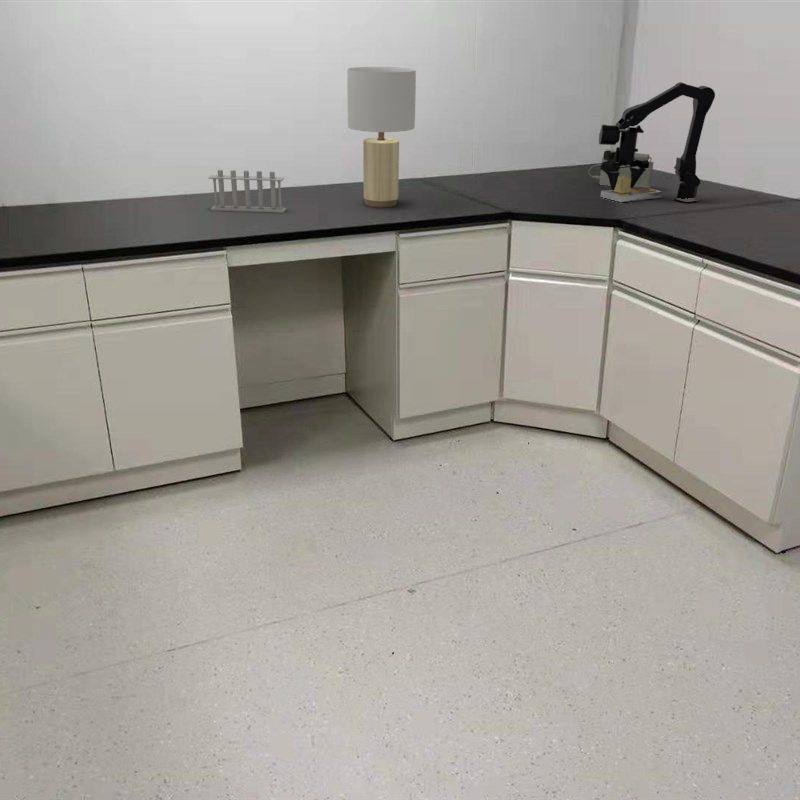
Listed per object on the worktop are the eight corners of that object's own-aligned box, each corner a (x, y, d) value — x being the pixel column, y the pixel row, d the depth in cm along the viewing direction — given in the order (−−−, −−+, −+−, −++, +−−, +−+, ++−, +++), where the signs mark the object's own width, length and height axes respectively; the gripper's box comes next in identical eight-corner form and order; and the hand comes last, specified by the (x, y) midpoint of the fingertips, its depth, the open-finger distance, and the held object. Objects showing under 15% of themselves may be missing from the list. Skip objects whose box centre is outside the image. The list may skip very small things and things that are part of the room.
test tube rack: (210, 210, 282) (207, 170, 276) (214, 207, 286) (211, 168, 280) (283, 213, 280) (281, 173, 275) (286, 210, 284) (284, 170, 279)
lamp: (420, 200, 301) (424, 68, 281) (401, 214, 281) (404, 73, 262) (361, 195, 307) (361, 65, 287) (339, 208, 287) (336, 70, 268)
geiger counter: (656, 153, 317) (594, 146, 329) (651, 155, 312) (588, 148, 324) (651, 190, 323) (589, 182, 335) (646, 192, 318) (584, 184, 330)
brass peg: (620, 197, 310) (623, 175, 306) (628, 199, 306) (631, 177, 303) (612, 198, 308) (615, 176, 304) (620, 200, 305) (623, 178, 301)
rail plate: (640, 192, 318) (641, 185, 317) (661, 198, 309) (662, 190, 308) (600, 197, 309) (601, 189, 308) (620, 203, 301) (621, 195, 299)
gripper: (631, 140, 309) (625, 182, 316) (592, 143, 301) (587, 187, 308) (653, 144, 300) (646, 188, 307) (614, 148, 292) (608, 193, 299)
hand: (622, 189), depth 305 cm, fingers open, 9 cm apart
